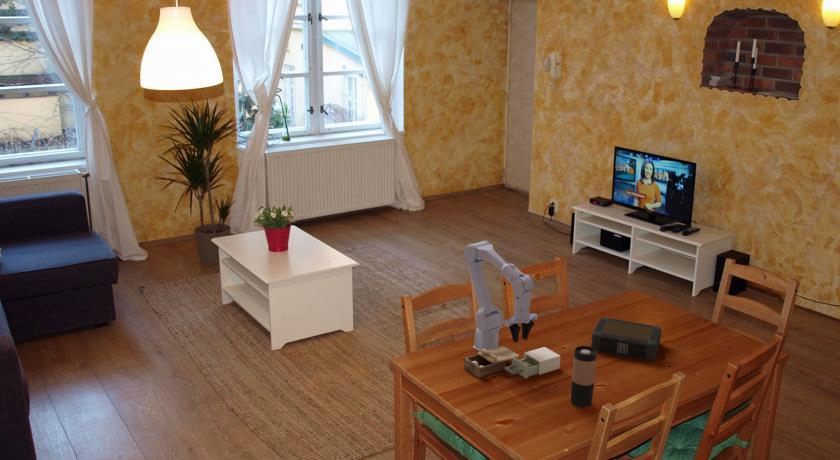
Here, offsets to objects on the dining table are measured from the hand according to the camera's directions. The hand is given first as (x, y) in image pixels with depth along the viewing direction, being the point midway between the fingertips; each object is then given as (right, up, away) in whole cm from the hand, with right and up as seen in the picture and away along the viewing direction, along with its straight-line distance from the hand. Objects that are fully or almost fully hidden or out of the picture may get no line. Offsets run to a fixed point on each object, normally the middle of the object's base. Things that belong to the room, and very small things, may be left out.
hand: (519, 340), depth 310 cm
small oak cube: (+2, -11, -5) cm, 12 cm away
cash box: (+45, -6, +21) cm, 50 cm away
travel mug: (+18, -19, -24) cm, 36 cm away
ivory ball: (-17, -11, -2) cm, 21 cm away
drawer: (+1, -12, -5) cm, 13 cm away
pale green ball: (-15, -12, -6) cm, 20 cm away
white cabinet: (+8, -11, 0) cm, 14 cm away
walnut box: (-14, -11, -2) cm, 18 cm away
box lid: (-8, -6, 0) cm, 10 cm away
